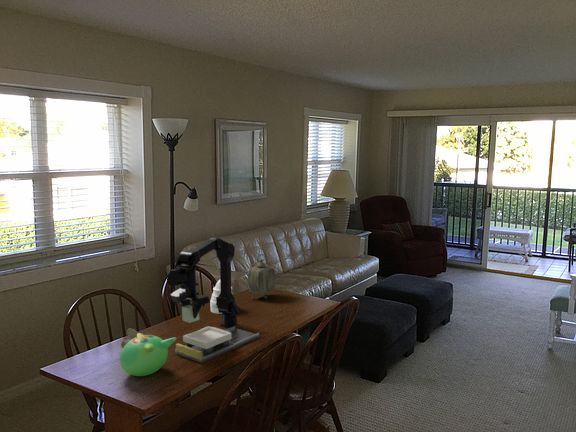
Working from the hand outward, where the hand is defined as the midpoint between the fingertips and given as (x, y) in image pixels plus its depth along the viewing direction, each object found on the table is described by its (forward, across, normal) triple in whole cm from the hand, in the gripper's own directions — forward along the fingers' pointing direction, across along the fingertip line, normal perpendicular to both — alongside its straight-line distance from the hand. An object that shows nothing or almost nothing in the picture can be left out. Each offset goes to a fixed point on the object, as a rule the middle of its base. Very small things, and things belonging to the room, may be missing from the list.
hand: (190, 316), depth 210 cm
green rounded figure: (+12, +9, -29) cm, 32 cm away
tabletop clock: (+12, -22, +69) cm, 73 cm away
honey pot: (+12, -24, +41) cm, 49 cm away
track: (+12, +10, +6) cm, 17 cm away
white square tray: (+11, +10, 0) cm, 15 cm away
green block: (+1, 0, 0) cm, 1 cm away
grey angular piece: (+12, -15, -19) cm, 28 cm away
